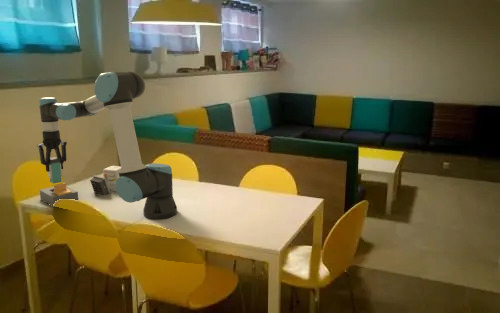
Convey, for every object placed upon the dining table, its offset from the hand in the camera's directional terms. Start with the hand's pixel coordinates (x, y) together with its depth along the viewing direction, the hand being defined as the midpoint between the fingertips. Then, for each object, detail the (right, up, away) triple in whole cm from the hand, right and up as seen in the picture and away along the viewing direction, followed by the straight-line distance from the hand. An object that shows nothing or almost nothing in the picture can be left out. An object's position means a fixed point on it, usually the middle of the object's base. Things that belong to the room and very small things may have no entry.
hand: (55, 176), depth 212 cm
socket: (+1, -12, +1) cm, 12 cm away
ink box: (+23, -8, +21) cm, 32 cm away
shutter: (+5, -8, -3) cm, 10 cm away
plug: (0, -3, +1) cm, 3 cm away
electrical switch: (+18, -9, +13) cm, 24 cm away
